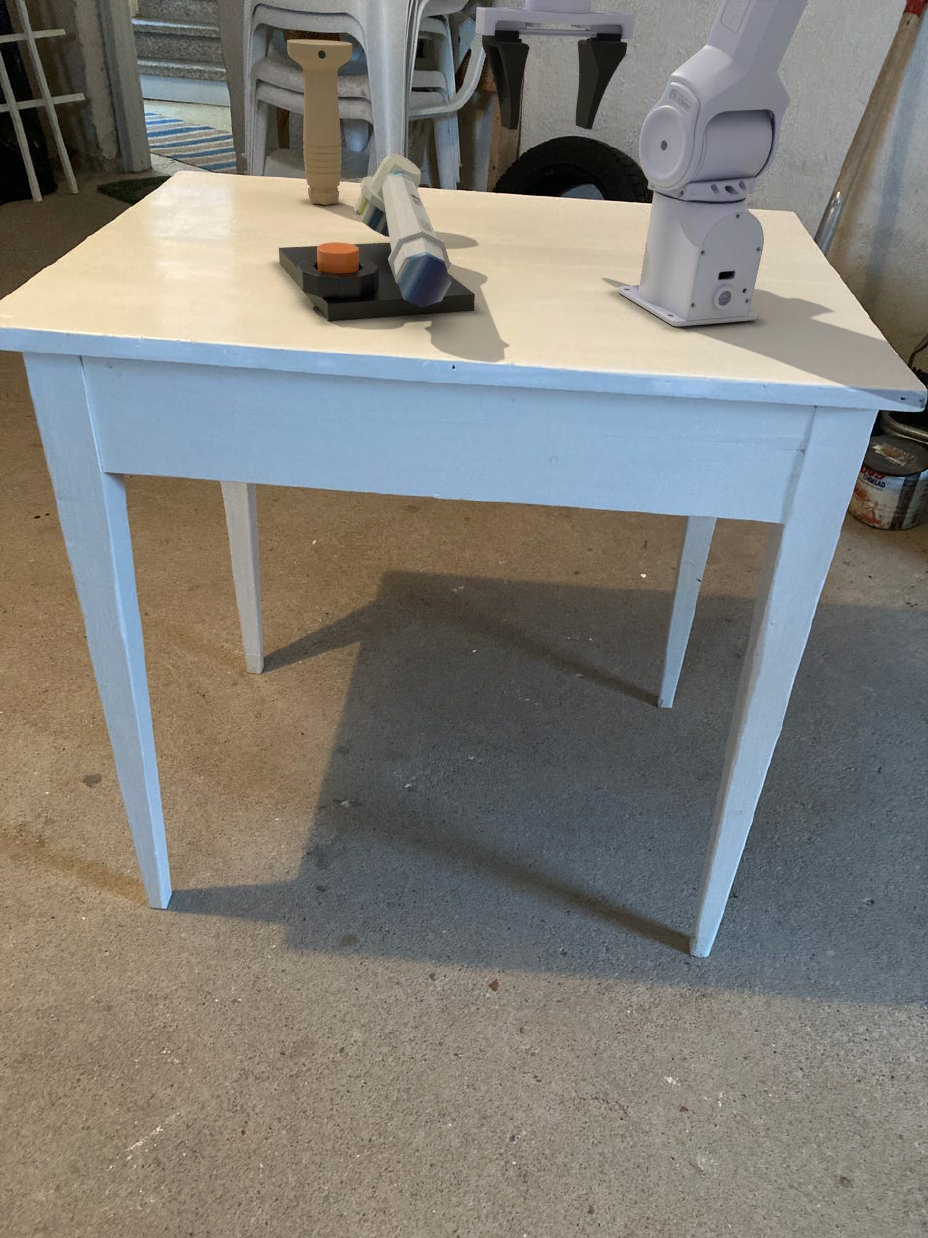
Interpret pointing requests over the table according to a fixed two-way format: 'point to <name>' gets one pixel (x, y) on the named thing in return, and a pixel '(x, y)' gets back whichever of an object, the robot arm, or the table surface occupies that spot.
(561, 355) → the table surface
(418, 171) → the blue-tipped octagonal rod
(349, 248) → the button
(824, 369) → the table surface
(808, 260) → the table surface
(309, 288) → the scale
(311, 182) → the handle
